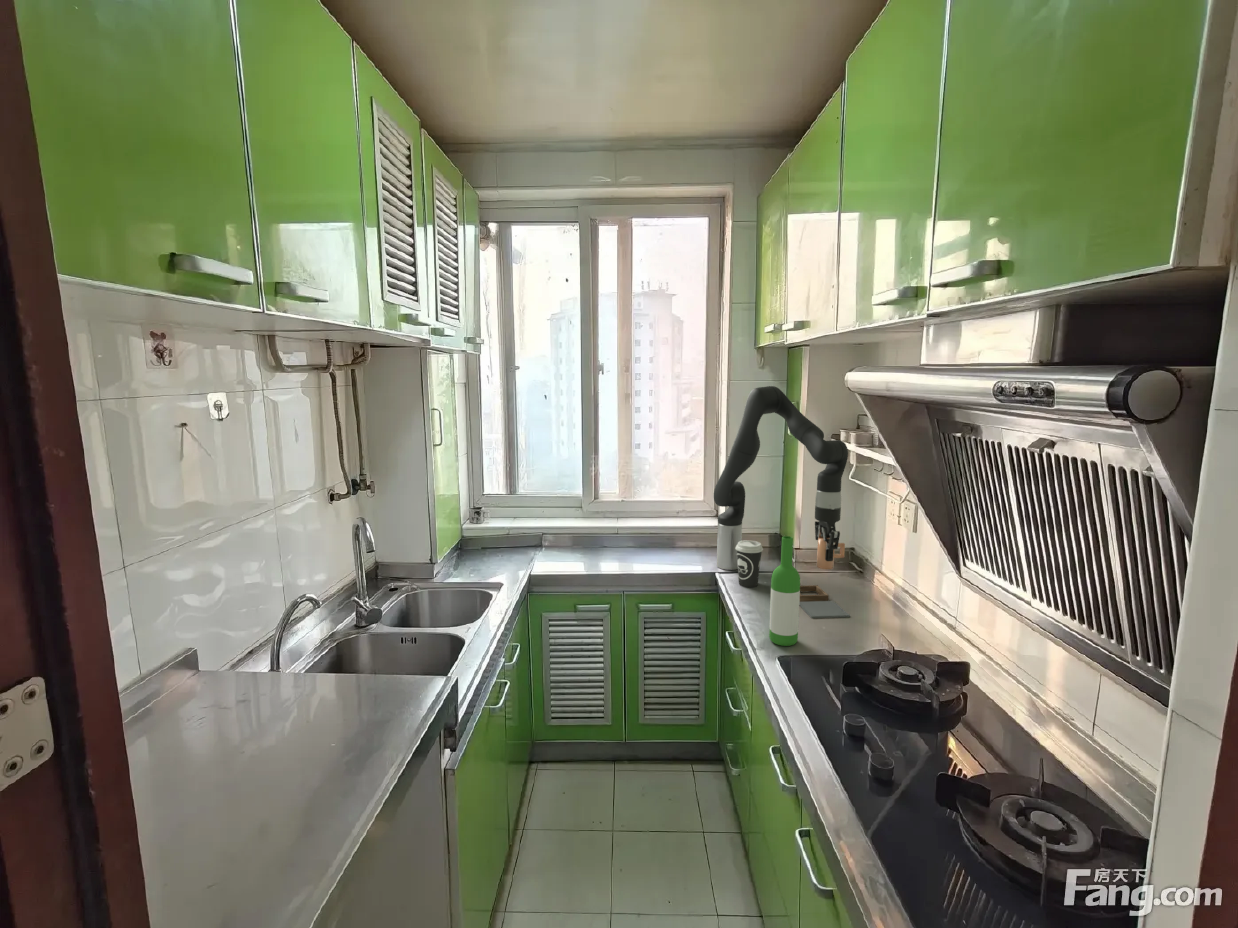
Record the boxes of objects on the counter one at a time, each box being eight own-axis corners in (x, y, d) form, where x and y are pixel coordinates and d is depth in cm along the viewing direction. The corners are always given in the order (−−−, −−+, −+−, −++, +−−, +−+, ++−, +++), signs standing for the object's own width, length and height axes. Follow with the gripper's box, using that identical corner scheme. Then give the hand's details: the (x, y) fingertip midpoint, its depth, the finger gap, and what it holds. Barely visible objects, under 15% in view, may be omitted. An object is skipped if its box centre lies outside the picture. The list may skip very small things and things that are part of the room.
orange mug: (820, 569, 187) (821, 541, 186) (814, 564, 192) (815, 536, 191) (846, 568, 188) (847, 540, 186) (839, 563, 193) (840, 536, 191)
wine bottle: (792, 634, 174) (797, 533, 169) (801, 647, 166) (806, 541, 162) (765, 635, 174) (769, 533, 169) (773, 647, 166) (777, 541, 161)
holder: (789, 591, 208) (789, 585, 208) (816, 590, 209) (817, 585, 209) (799, 601, 199) (800, 596, 198) (828, 601, 199) (828, 595, 199)
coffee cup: (762, 589, 210) (763, 547, 208) (734, 587, 212) (735, 546, 210) (761, 580, 219) (762, 540, 217) (734, 578, 221) (735, 538, 219)
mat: (797, 603, 198) (797, 601, 197) (833, 602, 198) (833, 600, 198) (811, 618, 186) (811, 616, 186) (849, 617, 186) (849, 615, 186)
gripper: (807, 500, 194) (805, 551, 196) (825, 510, 180) (822, 565, 182) (830, 499, 194) (827, 551, 197) (850, 509, 180) (847, 565, 183)
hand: (825, 557), depth 189 cm, fingers closed on orange mug, 5 cm apart
